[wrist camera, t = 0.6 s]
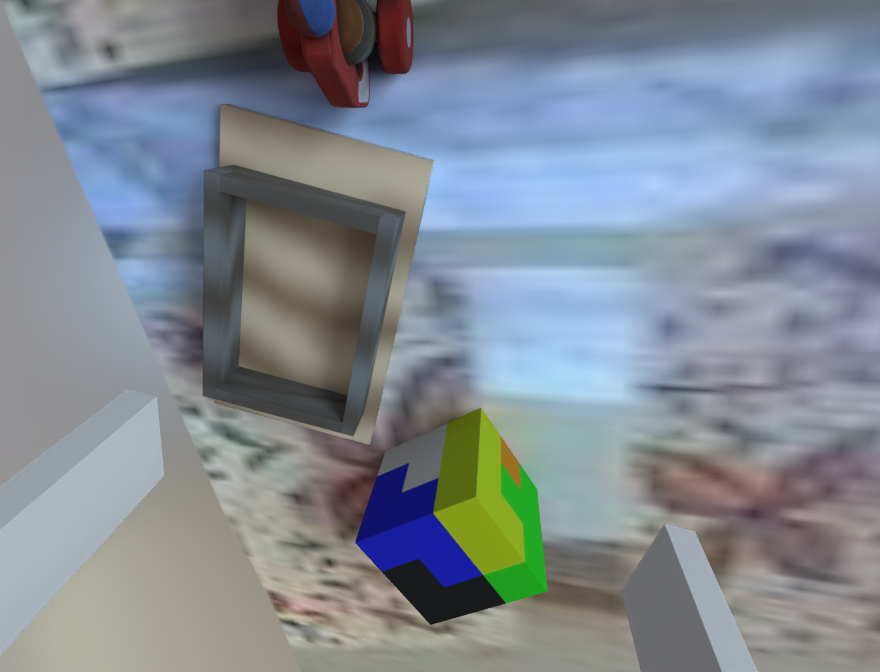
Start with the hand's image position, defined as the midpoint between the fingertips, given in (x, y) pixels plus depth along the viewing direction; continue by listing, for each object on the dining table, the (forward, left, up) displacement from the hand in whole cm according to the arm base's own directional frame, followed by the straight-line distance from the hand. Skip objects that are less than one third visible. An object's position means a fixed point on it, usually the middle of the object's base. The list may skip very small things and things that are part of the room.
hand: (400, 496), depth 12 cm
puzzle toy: (+20, +5, -24) cm, 31 cm away
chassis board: (+7, -10, -23) cm, 26 cm away
